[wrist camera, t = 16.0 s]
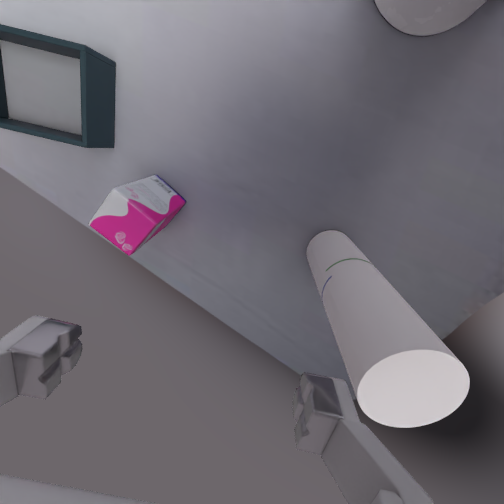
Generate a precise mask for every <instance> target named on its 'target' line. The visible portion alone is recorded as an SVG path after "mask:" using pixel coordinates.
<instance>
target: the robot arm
mask: <svg viewBox="0 0 504 504" xmlns="http://www.w3.org/2000/svg"><path fill="white" fill-rule="evenodd" d="M374 1H375V3H376V5H377V8H378V9H379V11H380V13H381V14H382V15H383V17H384V18H385V19H386V20H387V21H388V22H389V23H390V24H391V25H392V26H393V27H395V28H396V29H398V30H400V31H402V32H404V33H407V34H411V35H417V36H428V35H434V34H438V33H441V32H444V31H447V30H449V29H451V28H453V27H455V26H457V25H458V24H460V23H461V22H463V21H464V20H466V19H467V18H468V17H469V16H471V15H472V14H473V13H474V12H475V11H476V10H477V9H478V8H479V7H480V6H482V5H483V4H484V3H485V2H486V1H487V0H374ZM81 334H82V331H81V326H79V325H77V324H73V323H68V322H64V321H60V320H55V319H50V318H45V317H42V316H38V315H37V316H32V317H30V318H29V319H28V320H26V321H25V322H23V323H22V324H20V325H19V326H17V327H16V328H15V329H13V330H12V331H11V332H9V333H8V334H6V335H5V336H4V337H2V338H1V339H0V406H2V405H4V404H6V403H7V402H9V401H11V400H13V399H14V398H16V397H18V395H23V396H29V397H35V398H41V399H46V398H47V397H48V396H49V395H50V394H51V393H52V392H53V390H54V389H55V388H56V387H57V386H58V385H59V384H60V383H61V375H63V374H66V373H67V372H70V371H71V370H72V369H73V368H74V366H75V365H76V364H77V362H78V360H79V358H80V356H81V352H82V343H81V342H80V340H79V339H78V337H79V336H80V335H81ZM300 385H301V386H299V387H298V388H296V391H295V393H294V398H293V417H294V418H295V420H296V421H297V424H296V427H295V429H294V430H295V438H296V448H297V450H301V451H305V452H310V453H314V454H318V455H321V458H322V459H323V461H324V463H325V465H326V466H327V468H328V470H329V472H330V473H331V475H332V477H333V478H334V480H335V482H336V483H337V485H338V487H339V489H340V491H341V492H342V494H343V496H344V498H345V499H346V501H347V502H348V504H434V502H433V500H432V498H431V497H430V496H429V495H428V494H427V493H426V491H425V490H424V489H423V488H422V487H421V486H420V485H419V484H418V483H417V481H416V480H415V479H414V478H413V477H412V476H411V475H410V474H409V473H408V472H407V470H406V469H405V468H404V467H403V466H402V465H401V464H400V463H399V462H398V460H397V459H396V458H395V457H394V456H393V455H392V454H391V453H390V452H389V450H388V449H387V448H386V447H385V446H384V445H383V444H382V443H381V442H380V441H379V439H378V438H377V437H376V436H375V435H374V434H373V433H372V432H371V431H370V430H369V428H368V427H367V426H366V425H365V424H362V423H360V420H359V418H358V415H357V412H356V409H355V406H354V404H353V400H352V398H351V395H350V392H349V389H348V386H347V383H346V382H345V380H342V379H337V378H332V377H326V376H321V375H316V374H311V373H306V372H304V373H303V374H302V375H301V378H300ZM0 504H157V503H152V502H146V501H141V500H136V499H130V498H125V497H119V496H114V495H109V494H104V493H98V492H93V491H88V490H83V489H77V488H72V487H66V486H61V485H56V484H51V483H45V482H40V481H34V480H29V479H24V478H19V477H14V476H8V475H3V474H0Z"/></svg>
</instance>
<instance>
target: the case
mask: <svg viewBox="0 0 504 504" xmlns="http://www.w3.org/2000/svg"><path fill="white" fill-rule="evenodd" d="M0 40H4V41H9V42H13V43H17V44H21V45H25V46H29V47H33V48H37V49H41V50H45V51H49V52H53V53H57V54H61V55H65V56H70V57H74V58H78V59H80V77H81V118H82V136H81V135H77V134H73V133H68V132H64V131H60V130H56V129H51V128H47V127H43V126H39V125H35V124H30V123H26V122H22V121H18V120H13V119H9V118H8V110H7V102H6V93H5V85H4V77H3V68H2V60H1V51H0V128H5V129H9V130H13V131H17V132H22V133H26V134H30V135H34V136H39V137H43V138H47V139H51V140H56V141H60V142H64V143H68V144H73V145H77V146H81V147H85V148H114V121H115V67H116V63H115V62H114V61H112V60H110V59H109V58H107V57H105V56H103V55H101V54H100V53H98V52H96V51H94V50H93V49H91V48H89V47H87V46H85V45H82V44H78V43H74V42H70V41H66V40H62V39H58V38H54V37H50V36H46V35H42V34H38V33H34V32H30V31H26V30H22V29H18V28H14V27H9V26H5V25H1V24H0Z"/></svg>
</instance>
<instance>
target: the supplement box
mask: <svg viewBox="0 0 504 504" xmlns="http://www.w3.org/2000/svg"><path fill="white" fill-rule="evenodd" d="M185 203H186V200H185V199H184V198H182V197H181V196H180V195H179V194H178V193H177V192H176V191H175V190H174V189H172V188H171V187H170V186H169V185H168V184H167V183H166V182H165V181H163V180H162V179H161V178H160V177H159V176H158V175H153V176H150V177H147V178H144V179H140V180H137V181H134V182H131V183H128V184H124V185H121V186H118V187H114V188H113V189H112V190H111V192H110V193H109V195H108V196H107V197H106V199H105V200H104V202H103V203H102V205H101V206H100V208H99V209H98V211H97V212H96V214H95V215H94V216H93V218H92V219H91V221H90V222H89V223H88V224H89V225H90V226H91V227H92V228H94V229H95V230H96V231H98V232H99V233H100V234H102V235H103V236H104V237H105V238H107V239H108V240H109V241H111V242H112V243H113V244H114V245H116V246H117V247H118V248H120V249H121V250H122V251H123V252H125V253H126V254H127V255H129V256H130V255H131V254H133V253H134V252H135V251H136V250H138V249H139V248H140V247H141V246H142V245H144V244H145V243H146V242H147V241H149V240H150V239H151V238H152V237H153V236H155V235H156V234H157V233H158V232H160V231H161V230H162V229H163V228H164V227H165V226H166V225H167V224H168V223H169V222H170V221H171V220H172V218H173V217H174V216H175V215H176V214H177V213H178V212H179V210H180V209H181V208H182V207H183V206H184V204H185Z"/></svg>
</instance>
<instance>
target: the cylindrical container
mask: <svg viewBox="0 0 504 504" xmlns="http://www.w3.org/2000/svg"><path fill="white" fill-rule="evenodd" d="M306 256H307V260H308V263H309V266H310V269H311V271H312V274H313V277H314V280H315V283H316V285H317V288H318V291H319V294H320V297H321V299H322V302H323V305H324V308H325V311H326V313H327V316H328V319H329V322H330V325H331V327H332V330H333V333H334V336H335V339H336V341H337V344H338V347H339V350H340V353H341V355H342V358H343V361H344V364H345V367H346V369H347V372H348V375H349V378H350V381H351V383H352V386H353V389H354V392H355V395H356V397H357V400H358V403H359V405H360V407H361V409H362V410H363V411H364V413H365V414H366V415H367V416H368V417H370V418H371V419H373V420H374V421H376V422H379V423H381V424H384V425H387V426H392V427H402V428H406V427H407V428H409V427H418V426H423V425H427V424H431V423H433V422H436V421H438V420H440V419H442V418H444V417H446V416H448V415H449V414H451V413H452V412H453V411H454V410H456V409H457V408H458V407H459V406H460V405H461V403H462V402H463V400H464V399H465V397H466V396H467V393H468V390H469V383H470V382H469V381H470V379H469V375H468V372H467V370H466V369H465V367H464V366H463V364H462V363H461V362H460V361H459V360H458V359H457V357H456V356H455V355H454V354H452V352H451V351H450V350H449V349H448V348H447V346H446V345H445V344H444V343H443V342H442V341H441V340H440V339H439V337H438V336H437V335H436V334H435V333H434V332H433V331H432V330H431V329H430V327H429V326H428V325H427V324H426V323H425V322H424V321H423V320H422V319H421V317H420V316H419V315H418V314H417V313H416V312H415V311H414V310H413V309H412V307H411V306H410V305H409V304H408V303H407V302H406V301H405V300H404V299H403V297H402V296H401V295H400V294H399V293H398V292H397V291H396V290H395V289H394V287H393V286H392V285H391V284H390V283H389V282H388V281H387V280H386V279H385V277H384V276H383V275H382V274H381V273H380V272H379V271H378V270H377V269H376V267H375V266H374V265H373V264H372V263H371V262H370V261H369V260H368V258H367V257H366V256H365V255H364V254H363V253H362V252H361V251H360V250H359V248H358V247H357V246H356V245H355V244H354V243H353V242H352V241H351V240H350V238H349V237H348V236H346V235H345V234H344V233H342V232H339V231H335V230H328V231H323V232H321V233H319V234H317V235H316V236H315V237H314V238H313V239H312V240H311V241H310V242H309V244H308V246H307V250H306Z"/></svg>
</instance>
